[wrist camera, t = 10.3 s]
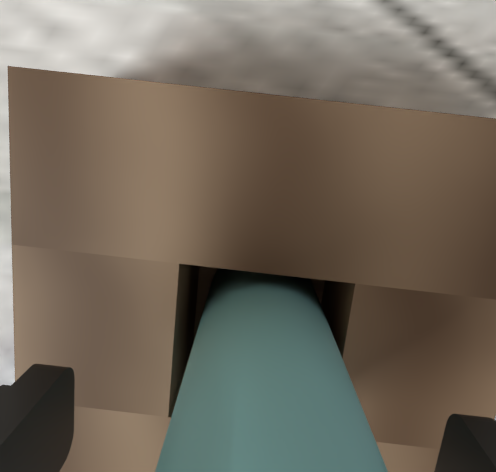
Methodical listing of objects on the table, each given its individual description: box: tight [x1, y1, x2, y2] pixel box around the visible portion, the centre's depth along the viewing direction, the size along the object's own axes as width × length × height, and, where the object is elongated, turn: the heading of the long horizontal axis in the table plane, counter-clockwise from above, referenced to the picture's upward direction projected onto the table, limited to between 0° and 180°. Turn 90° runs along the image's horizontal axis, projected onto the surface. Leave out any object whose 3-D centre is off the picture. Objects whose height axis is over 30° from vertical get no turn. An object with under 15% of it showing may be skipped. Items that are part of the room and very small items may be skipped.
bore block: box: [8, 66, 496, 472], centre depth 15 cm, size 14×14×6 cm
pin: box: [155, 268, 388, 472], centre depth 9 cm, size 4×4×15 cm
